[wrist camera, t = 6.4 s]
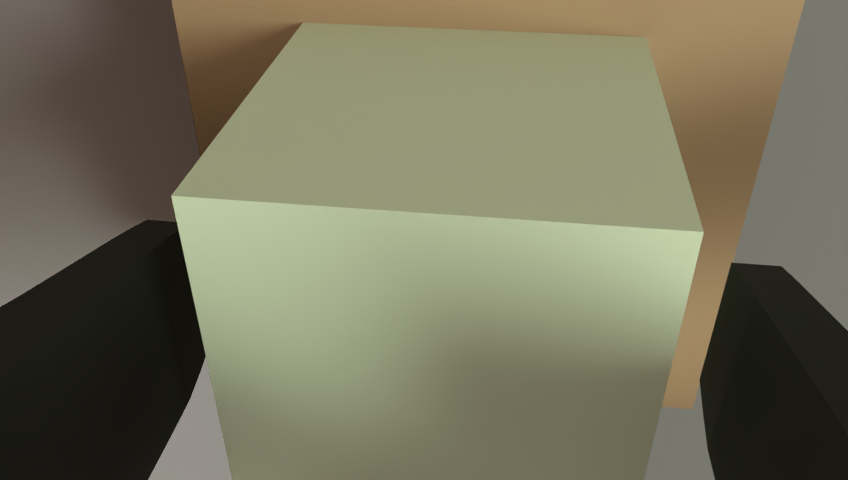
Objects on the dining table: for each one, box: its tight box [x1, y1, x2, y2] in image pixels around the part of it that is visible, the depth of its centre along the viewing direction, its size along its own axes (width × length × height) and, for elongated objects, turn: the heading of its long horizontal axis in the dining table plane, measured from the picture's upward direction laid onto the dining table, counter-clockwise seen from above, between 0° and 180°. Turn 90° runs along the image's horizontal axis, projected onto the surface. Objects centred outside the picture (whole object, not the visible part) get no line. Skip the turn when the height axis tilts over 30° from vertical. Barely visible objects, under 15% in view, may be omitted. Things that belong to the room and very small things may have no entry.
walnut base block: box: [171, 0, 805, 409], centre depth 15 cm, size 9×9×4 cm
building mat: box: [644, 0, 848, 480], centre depth 18 cm, size 18×20×1 cm
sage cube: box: [171, 23, 704, 480], centre depth 11 cm, size 5×5×5 cm
